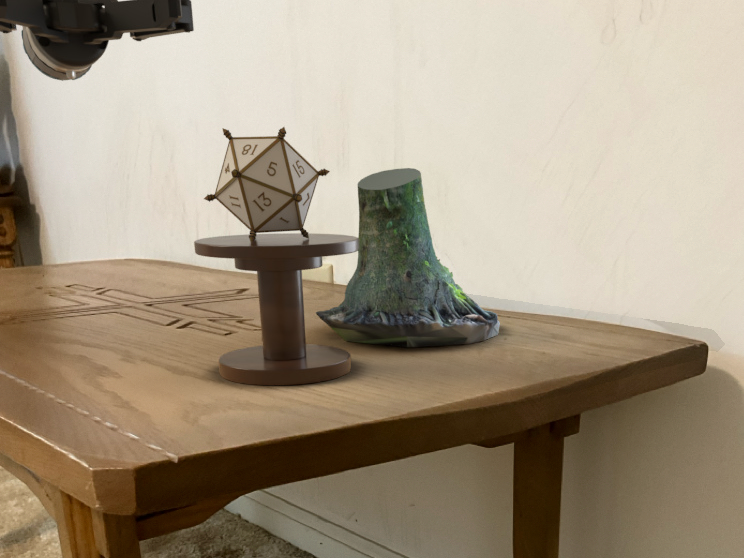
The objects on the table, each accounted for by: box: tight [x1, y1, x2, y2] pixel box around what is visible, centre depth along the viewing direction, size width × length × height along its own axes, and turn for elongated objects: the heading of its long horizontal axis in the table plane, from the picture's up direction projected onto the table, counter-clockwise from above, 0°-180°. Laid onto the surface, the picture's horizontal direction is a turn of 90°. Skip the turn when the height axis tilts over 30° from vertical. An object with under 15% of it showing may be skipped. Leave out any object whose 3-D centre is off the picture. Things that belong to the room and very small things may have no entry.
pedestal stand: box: [193, 232, 359, 386], centre depth 70 cm, size 13×13×10 cm
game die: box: [203, 126, 331, 242], centre depth 66 cm, size 9×8×10 cm
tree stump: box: [315, 167, 501, 348], centre depth 83 cm, size 18×20×18 cm
